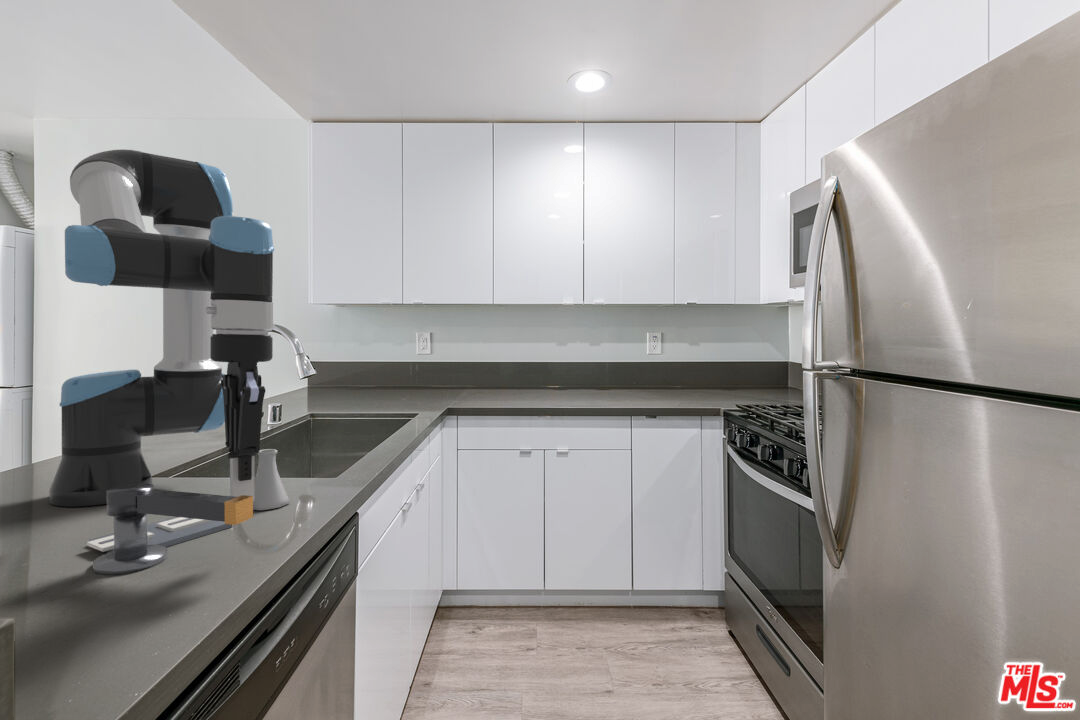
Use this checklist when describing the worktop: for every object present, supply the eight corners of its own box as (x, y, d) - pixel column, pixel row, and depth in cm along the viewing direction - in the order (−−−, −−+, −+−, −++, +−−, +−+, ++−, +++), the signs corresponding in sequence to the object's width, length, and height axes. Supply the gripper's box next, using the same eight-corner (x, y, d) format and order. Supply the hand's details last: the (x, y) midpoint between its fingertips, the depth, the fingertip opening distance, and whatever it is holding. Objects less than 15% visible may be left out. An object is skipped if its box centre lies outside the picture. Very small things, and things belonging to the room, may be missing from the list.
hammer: (96, 514, 71) (96, 492, 71) (132, 503, 76) (132, 482, 76) (229, 528, 67) (229, 504, 67) (258, 515, 72) (258, 493, 72)
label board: (79, 547, 78) (79, 538, 78) (196, 516, 92) (196, 507, 92) (115, 562, 73) (115, 552, 73) (232, 526, 87) (232, 518, 87)
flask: (259, 514, 94) (259, 456, 93) (236, 506, 98) (236, 451, 97) (297, 503, 100) (297, 449, 99) (274, 497, 104) (274, 445, 103)
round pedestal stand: (80, 566, 72) (80, 517, 71) (148, 546, 79) (147, 501, 78) (111, 579, 68) (111, 528, 68) (179, 557, 75) (179, 511, 75)
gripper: (201, 331, 77) (201, 495, 78) (222, 333, 68) (222, 519, 69) (258, 332, 82) (258, 486, 83) (286, 334, 73) (285, 508, 74)
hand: (242, 501), depth 76 cm, fingers closed
